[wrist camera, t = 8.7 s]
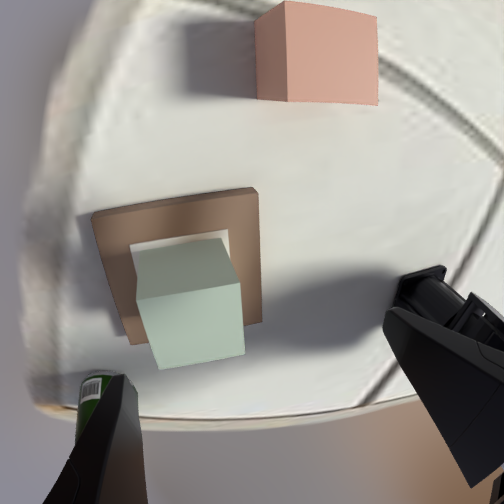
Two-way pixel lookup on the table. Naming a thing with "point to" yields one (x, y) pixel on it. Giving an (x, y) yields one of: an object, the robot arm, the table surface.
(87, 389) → the beer can
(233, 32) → the table surface
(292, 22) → the dusty pink cube
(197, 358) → the brick sage
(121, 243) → the tower base
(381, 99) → the table surface
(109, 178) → the table surface
